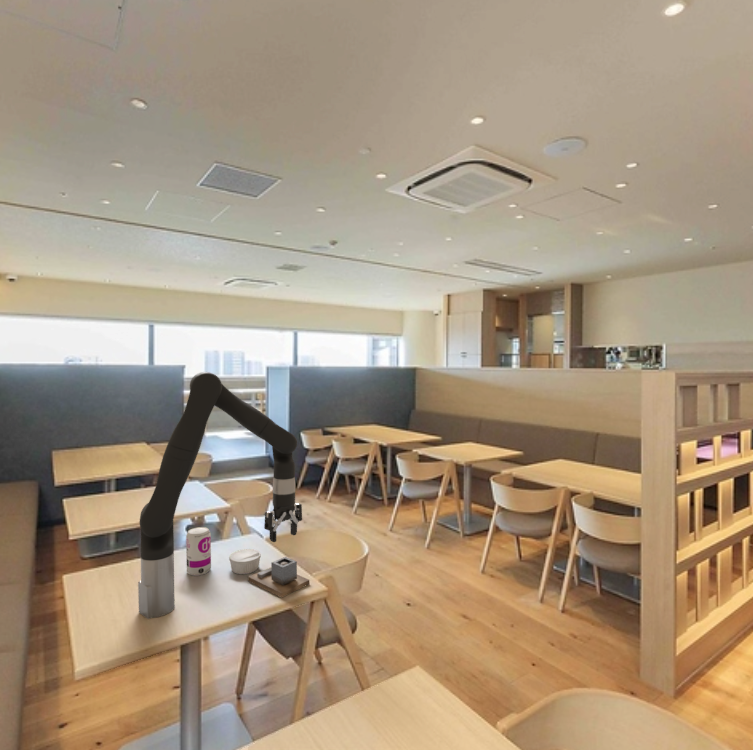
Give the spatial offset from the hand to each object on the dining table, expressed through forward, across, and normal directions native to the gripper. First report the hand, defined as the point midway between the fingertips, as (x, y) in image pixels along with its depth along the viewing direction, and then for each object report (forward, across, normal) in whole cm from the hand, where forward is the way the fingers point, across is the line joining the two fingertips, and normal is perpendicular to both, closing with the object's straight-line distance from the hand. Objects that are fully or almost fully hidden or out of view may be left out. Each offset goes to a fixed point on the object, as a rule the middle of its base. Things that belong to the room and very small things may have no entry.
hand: (283, 537), depth 161 cm
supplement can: (+17, -13, +32) cm, 38 cm away
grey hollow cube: (+14, 0, 0) cm, 14 cm away
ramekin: (+17, -1, +21) cm, 27 cm away
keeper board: (+16, 0, +3) cm, 17 cm away
